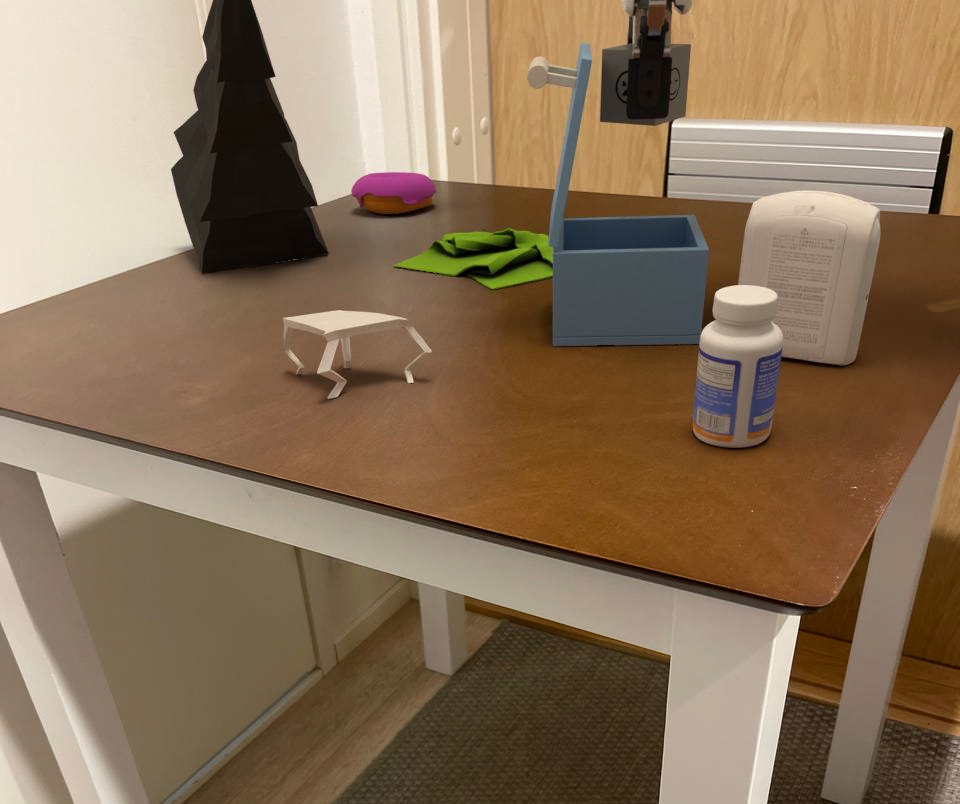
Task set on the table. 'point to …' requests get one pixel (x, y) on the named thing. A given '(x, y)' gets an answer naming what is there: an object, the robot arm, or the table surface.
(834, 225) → the photo printer
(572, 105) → the case lid
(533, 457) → the table surface
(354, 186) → the donut
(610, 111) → the dice cube
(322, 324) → the origami figure
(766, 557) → the table surface
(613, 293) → the case
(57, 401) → the table surface
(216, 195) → the decorative tree
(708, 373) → the pill bottle
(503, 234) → the cloth
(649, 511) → the table surface
